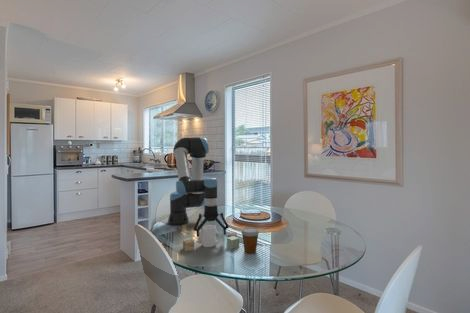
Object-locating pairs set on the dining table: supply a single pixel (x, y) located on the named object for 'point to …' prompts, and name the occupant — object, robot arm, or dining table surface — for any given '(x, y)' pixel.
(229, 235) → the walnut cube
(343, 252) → the dining table surface
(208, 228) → the mug
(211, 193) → the robot arm
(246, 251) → the disposable coffee cup
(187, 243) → the oak cube
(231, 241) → the sage painted cube
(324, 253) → the dining table surface
